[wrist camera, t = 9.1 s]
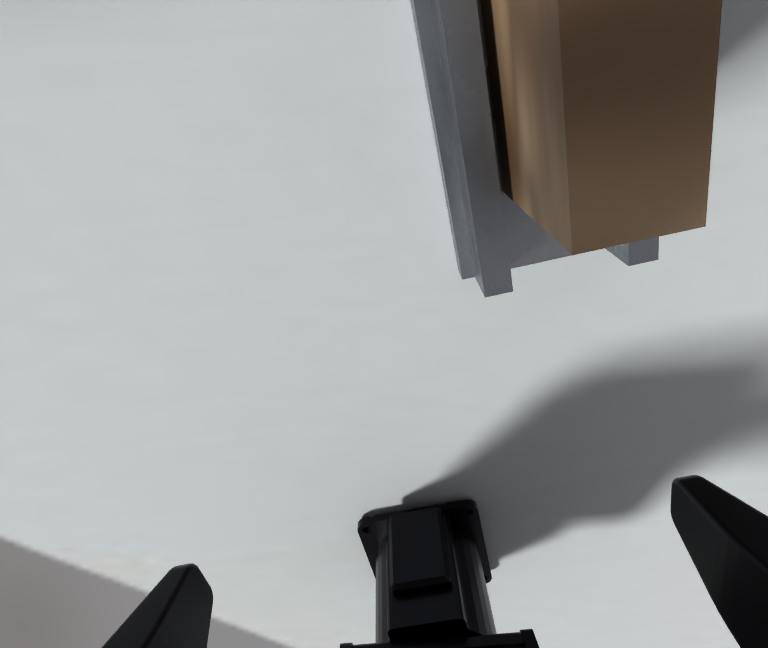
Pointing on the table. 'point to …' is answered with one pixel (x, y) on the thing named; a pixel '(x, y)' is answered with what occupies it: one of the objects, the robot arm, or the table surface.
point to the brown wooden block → (604, 114)
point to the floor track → (480, 153)
